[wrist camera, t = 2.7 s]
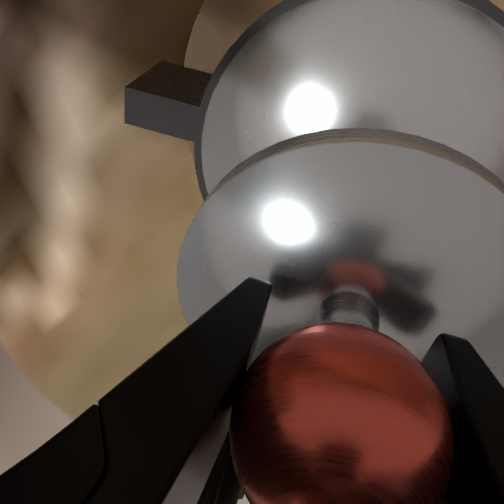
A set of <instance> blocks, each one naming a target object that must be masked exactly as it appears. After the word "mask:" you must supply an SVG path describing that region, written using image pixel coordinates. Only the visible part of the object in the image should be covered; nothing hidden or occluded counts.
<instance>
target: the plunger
mask: <svg viewBox="0 0 504 504" xmlns="http://www.w3.org/2000/svg"><path fill="white" fill-rule="evenodd" d="M248 277H254V278H257V279H261V280H264V281H268V282H270V283H271V284H272V286H273V287H272V291H271V295H270V299H269V302H268V306H267V310H266V313H265V317H264V320H263V324H262V327H261V331H260V334H259V338H258V341H257V345H256V348H255V351H254V355H253V358H252V362H251V365H250V367H249V368H248V370H247V371H246V373H245V375H244V376H243V378H242V380H241V382H240V384H239V387H238V389H237V392H236V395H235V397H234V401H233V405H232V409H231V415H230V425H229V439H230V452H231V457H232V462H233V466H234V469H235V473H236V475H237V478H238V481H239V483H240V486H241V488H242V490H243V492H244V493H245V495H246V497H247V499H248V501H249V502H250V504H441V502H442V500H443V498H444V495H445V493H446V491H447V488H448V485H449V481H450V478H451V474H452V468H453V460H454V437H453V428H452V423H451V418H450V414H449V411H448V408H447V405H446V403H445V400H444V397H443V395H442V393H441V391H440V389H439V387H438V386H437V384H436V382H435V380H434V379H433V377H432V375H431V374H430V373H429V372H428V370H427V369H426V368H425V366H424V365H423V364H422V363H421V361H422V359H423V358H424V356H425V355H426V353H427V351H428V350H429V348H430V347H431V345H432V343H433V342H434V340H435V339H436V337H437V336H438V335H439V334H441V333H447V334H451V335H454V336H457V337H461V338H464V339H466V340H468V341H469V342H470V343H471V344H472V346H473V347H474V348H475V350H476V351H477V353H478V354H479V355H480V357H481V358H482V359H483V361H484V362H485V363H486V365H487V366H488V367H489V369H490V370H491V371H492V373H493V374H494V375H495V377H496V378H497V379H498V381H499V382H500V383H501V385H502V386H503V388H504V182H503V181H501V180H500V179H499V178H498V177H497V176H496V175H495V174H494V173H493V172H492V171H490V170H489V169H487V168H486V167H484V166H483V165H481V164H480V163H478V162H477V161H475V160H474V159H472V158H471V157H469V156H467V155H465V154H463V153H461V152H459V151H457V150H455V149H453V148H451V147H449V146H446V145H444V144H442V143H439V142H436V141H433V140H430V139H427V138H423V137H420V136H417V135H413V134H408V133H403V132H398V131H392V130H386V129H372V128H343V129H329V130H324V131H318V132H313V133H307V134H302V135H299V136H296V137H293V138H290V139H287V140H284V141H280V142H278V143H276V144H274V145H271V146H269V147H267V148H265V149H263V150H261V151H259V152H257V153H255V154H254V155H252V156H251V157H249V158H247V159H246V160H244V161H243V162H241V163H240V164H238V165H237V166H236V167H235V168H234V169H232V170H231V171H230V172H229V173H228V174H227V175H226V176H225V177H223V178H222V179H221V180H220V182H219V183H218V184H217V185H216V186H215V188H214V189H213V190H212V191H211V192H210V194H209V195H208V196H207V198H206V200H205V201H204V203H203V205H202V206H201V208H200V209H199V211H198V213H197V214H196V216H195V218H194V219H193V221H192V223H191V225H190V226H189V228H188V230H187V232H186V234H185V237H184V240H183V242H182V245H181V248H180V253H179V258H178V264H177V287H178V294H179V300H180V303H181V307H182V310H183V313H184V316H185V318H186V321H187V323H188V325H191V324H192V323H193V322H194V321H196V320H197V319H198V318H199V317H200V316H202V315H203V314H204V313H205V312H206V311H208V310H209V309H210V308H211V307H212V306H214V305H215V304H216V303H217V302H219V301H220V300H221V299H222V298H223V297H225V296H226V295H227V294H228V293H229V292H231V291H232V290H233V289H234V288H236V287H237V286H238V285H239V284H240V283H242V282H243V281H244V280H245V279H247V278H248Z"/></svg>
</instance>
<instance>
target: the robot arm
mask: <svg viewBox="0 0 504 504" xmlns="http://www.w3.org/2000/svg"><path fill="white" fill-rule="evenodd" d="M272 287H273V286H272V284H271V283H270V282H268V281H264V280H261V279H257V278H254V277H248V278H247V279H245V280H244V281H243V282H242V283H240V284H239V285H238V286H237V287H236V288H234V289H233V290H232V291H231V292H229V293H228V294H227V295H226V296H225V297H223V298H222V299H221V300H220V301H219V302H217V303H216V304H215V305H214V306H212V307H211V308H210V309H209V310H208V311H206V312H205V313H204V314H203V315H202V316H200V317H199V318H198V319H197V320H196V321H194V322H193V323H192V324H191V325H189V326H188V327H187V328H186V329H185V330H183V331H182V332H181V333H180V334H179V335H177V336H176V337H175V338H174V339H172V340H171V341H170V342H169V343H168V344H166V345H165V346H164V347H163V348H162V349H160V350H159V351H158V352H157V353H155V354H154V355H153V356H152V357H151V358H149V359H148V360H147V361H146V362H145V363H143V364H142V365H141V366H140V367H138V368H137V369H136V370H135V371H134V372H132V373H131V374H130V375H129V376H128V377H126V378H125V379H124V380H123V381H121V382H120V383H119V384H118V385H117V386H115V387H114V388H113V389H112V390H111V391H109V392H108V393H107V394H106V395H104V396H103V397H102V398H101V399H100V400H99V401H98V406H97V405H96V404H94V405H92V406H91V407H89V408H88V409H87V410H86V411H85V412H83V413H82V414H81V415H80V416H79V417H77V418H76V419H75V420H74V421H73V422H71V423H70V424H69V425H68V426H66V427H65V428H64V429H62V430H61V431H60V432H59V433H57V434H56V435H55V436H53V437H52V438H51V439H50V440H48V441H47V442H46V443H44V444H43V445H42V446H40V447H39V448H38V449H37V450H36V451H34V452H33V453H31V454H30V455H28V456H27V457H25V458H24V459H23V460H21V461H20V462H18V463H17V464H16V465H14V466H13V467H11V468H10V469H8V470H7V471H5V472H4V473H2V474H1V475H0V504H237V501H238V499H242V498H243V496H244V494H245V493H244V492H243V490H242V488H241V486H240V483H239V481H238V478H237V475H236V473H235V469H234V466H233V462H232V457H231V452H230V439H229V425H230V415H231V409H232V405H233V401H234V397H235V395H236V392H237V389H238V387H239V384H240V382H241V380H242V378H243V376H244V375H245V373H246V371H247V370H248V368H249V367H250V365H251V362H252V358H253V355H254V351H255V348H256V345H257V341H258V338H259V334H260V331H261V327H262V324H263V320H264V317H265V313H266V310H267V306H268V302H269V299H270V295H271V291H272ZM421 363H422V364H423V365H424V366H425V368H426V369H427V370H428V372H429V373H430V374H431V375H432V377H433V379H434V380H435V382H436V384H437V386H438V387H439V389H440V391H441V393H442V395H443V397H444V400H445V403H446V405H447V408H448V411H449V414H450V418H451V423H452V428H453V437H454V460H453V468H452V474H451V478H450V481H449V485H448V488H447V491H446V493H445V495H444V498H443V500H442V502H441V504H504V388H503V386H502V385H501V383H500V382H499V381H498V379H497V378H496V377H495V375H494V374H493V373H492V371H491V370H490V369H489V367H488V366H487V365H486V363H485V362H484V361H483V359H482V358H481V357H480V355H479V354H478V353H477V351H476V350H475V348H474V347H473V346H472V344H471V343H470V342H469V341H468V340H466V339H464V338H461V337H457V336H454V335H451V334H447V333H441V334H439V335H438V336H437V337H436V339H435V340H434V342H433V343H432V345H431V347H430V348H429V350H428V351H427V353H426V355H425V356H424V358H423V359H422V361H421Z"/></svg>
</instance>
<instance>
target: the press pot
mask: <svg viewBox="0 0 504 504" xmlns="http://www.w3.org/2000/svg"><path fill="white" fill-rule="evenodd" d="M125 123H126V124H130V125H134V126H137V127H141V128H145V129H148V130H152V131H156V132H159V133H163V134H167V135H171V136H174V137H178V138H182V139H185V140H188V143H189V147H190V150H191V152H192V155H193V158H194V161H195V168H196V174H197V179H198V183H199V187H200V191H201V194H202V197H203V199H204V201H205V200H206V198H207V196H208V195H209V194H210V192H211V191H212V190H213V189H214V188H215V186H216V185H217V184H218V183H219V182H220V180H221V179H222V178H223V177H225V176H226V175H227V174H228V173H229V172H230V171H231V170H232V169H234V168H235V167H236V166H237V165H238V164H240V163H241V162H243V161H244V160H246V159H247V158H249V157H251V156H252V155H254V154H255V153H257V152H259V151H261V150H263V149H265V148H267V147H269V146H271V145H274V144H276V143H278V142H280V141H284V140H287V139H290V138H293V137H296V136H299V135H302V134H307V133H313V132H318V131H324V130H329V129H343V128H372V129H386V130H392V131H398V132H403V133H408V134H413V135H417V136H420V137H423V138H427V139H430V140H433V141H436V142H439V143H442V144H444V145H446V146H449V147H451V148H453V149H455V150H457V151H459V152H461V153H463V154H465V155H467V156H469V157H471V158H472V159H474V160H475V161H477V162H478V163H480V164H481V165H483V166H484V167H486V168H487V169H489V170H490V171H492V172H493V173H494V174H495V175H496V176H497V177H498V178H499V179H500V180H501V181H503V182H504V0H204V2H203V4H202V6H201V9H200V11H199V13H198V16H197V18H196V20H195V23H194V25H193V28H192V32H191V35H190V39H189V42H188V46H187V49H186V54H185V61H184V66H180V65H176V64H172V63H169V62H165V61H161V62H160V63H158V64H157V65H156V66H154V67H153V68H151V69H150V70H149V71H147V72H146V73H144V74H143V75H141V76H140V77H139V78H137V79H136V80H134V81H133V82H131V83H130V84H129V85H127V86H126V87H125Z"/></svg>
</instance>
